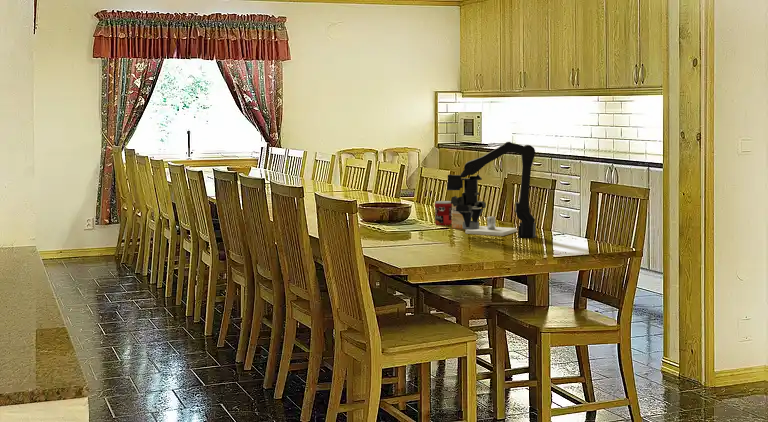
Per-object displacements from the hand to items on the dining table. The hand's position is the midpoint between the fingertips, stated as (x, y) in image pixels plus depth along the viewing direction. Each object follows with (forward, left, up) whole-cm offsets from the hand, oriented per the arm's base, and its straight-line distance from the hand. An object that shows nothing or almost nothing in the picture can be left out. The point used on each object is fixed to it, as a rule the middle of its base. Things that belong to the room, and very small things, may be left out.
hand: (470, 226), depth 411 cm
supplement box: (+16, -24, -5) cm, 29 cm away
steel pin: (-2, -17, -3) cm, 17 cm away
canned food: (+30, -33, -5) cm, 45 cm away
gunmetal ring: (0, 0, -1) cm, 1 cm away
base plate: (-2, -17, -5) cm, 18 cm away
